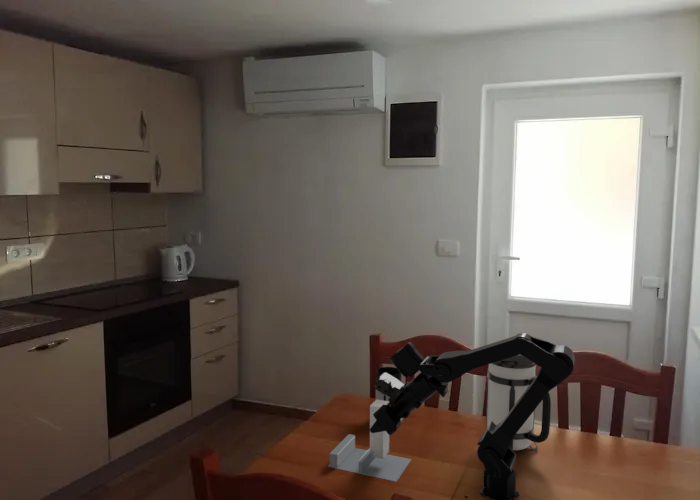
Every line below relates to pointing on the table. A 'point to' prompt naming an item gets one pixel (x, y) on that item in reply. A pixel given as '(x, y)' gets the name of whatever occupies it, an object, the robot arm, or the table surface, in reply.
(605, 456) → the table surface
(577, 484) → the table surface
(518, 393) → the coffee press
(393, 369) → the glass holder
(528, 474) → the table surface
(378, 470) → the vise
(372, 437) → the aluminium bar
